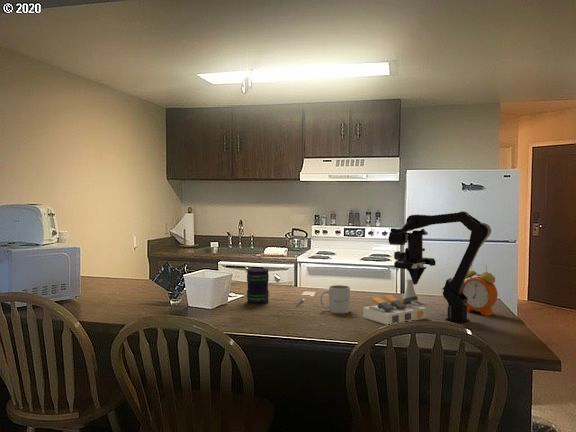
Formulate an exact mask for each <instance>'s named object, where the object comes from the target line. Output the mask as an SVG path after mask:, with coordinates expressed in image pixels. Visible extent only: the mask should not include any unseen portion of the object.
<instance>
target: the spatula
mask: <svg viewBox="0 0 576 432" xmlns="http://www.w3.org/2000/svg"><path fill="white" fill-rule="evenodd" d="M301 295H310V296H309V297H315V295H316V291H303V292H302V294H301ZM305 300H306V299H304V298H303V299H300V301H299V302H298V303H297V304H296V305H295V307H297V308H298V307H299V306H301V305H302V304H303V302H304V301H305Z"/></svg>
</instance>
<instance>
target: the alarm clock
mask: <svg viewBox="0 0 576 432" xmlns="http://www.w3.org/2000/svg"><path fill="white" fill-rule="evenodd" d="M478 265H480V266H481V265H482V264H480V263H479V264H478ZM470 269H471V270H469V272H468V274H467V276H466V278H465V281H464V287H463V291H462V293H463V294H464V295H465V296H466V297H467V298H468V300H467V303H465V305H467V313H471V312H474V311H480V314H481V316H486V317H488V316H491V315H494V311H493V309H492V307H493V306H494V305H495V304H496V302H497V299H498V296H499V295H498V290H497V287H496V285H495V282H496V276H494V275H493V274H492V273H491V272H490V273H489V272H488V270H487V269H488V267H487V265H485V271H483V273H481V274H478V273H477V272H476V271H475V270H473V268H470ZM474 276H476V277H474Z"/></svg>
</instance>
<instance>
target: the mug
mask: <svg viewBox="0 0 576 432" xmlns="http://www.w3.org/2000/svg"><path fill="white" fill-rule="evenodd" d="M325 294H328V305H324V303H323V296H324V295H325ZM319 297H320V298H319V301H320V305H321V307H322V308H323V309H328V312H330V313H333V314H347V313H350V311H351V309H350V308H351V303H350V302H351V288H350V286H349V285H342V284H341V285H340V284H336V285H335V284H334V285H329V286H328V290H324V291H323V292H322V293H321V294H320V296H319Z"/></svg>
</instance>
